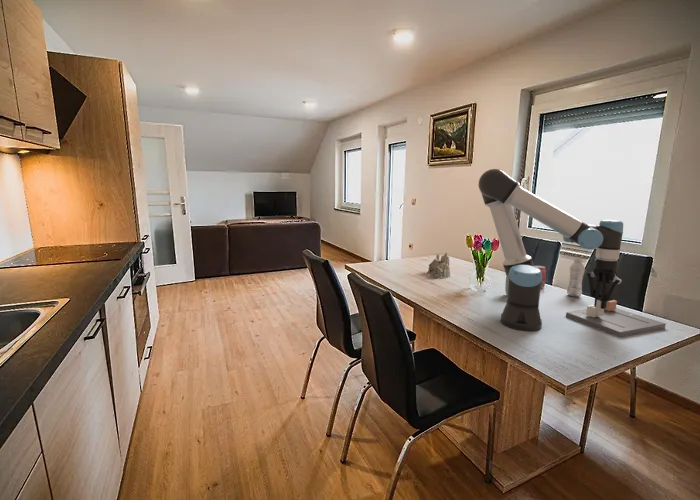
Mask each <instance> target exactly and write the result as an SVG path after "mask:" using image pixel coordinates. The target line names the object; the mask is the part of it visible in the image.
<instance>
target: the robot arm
mask: <svg viewBox="0 0 700 500" xmlns="http://www.w3.org/2000/svg"><path fill="white" fill-rule="evenodd" d="M478 189H479V192H480V193H481V197H482V199H483V202H484V203H483V204H484V206H486V207H488V208H489V209H490V210H489V211H490V213H491V216H492V220H493V223H494V226H495V230H496V234H497V236H498V240H499V243H500V246H501V250H502V253H503V256H504V261H502V266H503V269H504V272H505V275H506V276H507V280H508V293H507V294H506V296H507V297H506V304H505V306H504V308H503V311H502V312H501V314H500V319H499V320H500V323H501V324H503V326H506V327H508V328H510V329H515V330H519V331H525V332H526V331H527V332H533V331H534V332H535V331H539V330H542V327H543V320H542V318H541V313H540V310H539V308H540V305H539V304H540V297H541V290H542V289H541V281H542V272H541V270H540V269H538V268H535V267H534V266H535V265H534V262H533V258H532V256H531V255H528V254H527V251H526V249H525V245H524V243H523V239H522V235H521V232H520V228H519V225H518V222H517V219H516V216H515V213H514V209H517V210H518V211H520V212H522V213H524V214H525V215H528V216H529V217H530V218H533V219H534V220H536V221H538V222H540V223H541V224H543V225H544V226H547V227H548V228H549V229H552V230H553V231H554V232H557V233H558V234H560V235H561V236H562V239H563V241H564V242H566V243H571V244H574V243H575V244H577V245H579V246H580V247H581V248H582V249H585V250H595V256H594V257H595V259H594V265H593V266H594V267H593V268H594V269H593V270H592V271H591V272H587V273H586V276H587V278H588V284H589V293H590V294H589V295H590V297H592V298H594V304H593V305H594V306H595V307H596V310H595V315H596V316H603V312H604V309H606V305H607V301H612V300H614V298H615V296H616V295H617V291H618V288H619V287H620V285H621V284H622V283H623V282H624V280H623V279H621V278H619V276H618V273H617V270H618V269H619V268H618V266H619V258H620V254H621V253H620V252H621V247H622V246H621V245H622V239H623V234H624V222H623V221H621V220H617V219H616V220H615V219H602V220H600V222H599V224H587V223H585V222H583V221H581V220H580V219H578V218H577V217H574V216H573V215H572V214H569V213H568V212H566V211H564V210H562V209H560V208H559V207H557V206H555V205H553V204H551V203H550V202H548V201H546V200H545V199H542V197H539V196H538V195H536V194H534V193H532V192H531V191H528V190H527V189H525V188H523V187H522V186H521V183H520V182H519V181H517V180H516V179H513V178H512V177H511V176H509V175H508V174H507V173H506V172H505V171H503V170H501V169H499V168H498V169H497V168H492V169H489V170H486V171H484V172H483V173H482V175H480V177H479V180H478ZM513 208H514V209H513ZM506 276H505V277H506Z"/></svg>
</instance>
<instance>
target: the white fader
mask: <svg viewBox="0 0 700 500" xmlns="http://www.w3.org/2000/svg"><path fill="white" fill-rule="evenodd" d="M586 309H587V311H586V315H587V316H590V317H599V316H596V315H595V310H596V307H595V306H594V304H589V305H586Z"/></svg>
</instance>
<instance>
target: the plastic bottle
mask: <svg viewBox="0 0 700 500" xmlns="http://www.w3.org/2000/svg"><path fill="white" fill-rule="evenodd" d="M583 262H584V258H582V257H578V256H577V257H574V258H573V263H572V264H571V265H570V267H569V283H568V287H567V288H566V294H567V295H568V296H571V297H573V298H574V297H575V298H576V297H577V298H579V297H581V296H582V294H583V288H582V287H583V278H584V274H585V271H586V268H585V265H584V264H583Z"/></svg>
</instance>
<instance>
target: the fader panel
mask: <svg viewBox="0 0 700 500" xmlns="http://www.w3.org/2000/svg"><path fill="white" fill-rule="evenodd" d="M586 311H587V308H585V309H584V308H583V309H579V310H578V309H577V310H572V311H567V312H565V317H566V318H568V319H571V320H574V321H576V322H579V323H582V324H584V325H587V326H589V327H592V328H595V329H598V330H600V331H602V332H605V333H608V334H610V335H613V336H615V337H618V338H623V337H629V336H632V335H639V334H642V333H648V332H653V331H657V330H658V331H659V330H663V329H665V328H666V323H665V322H662V321H659V320H655V319H652V318H649V317H646V316H643V315H640V314H637V313H633V312H631V311H627V310H624V309H621V308H617V307H616V310H611V311H607V310H604V312H603V316H599V317H590V316H587V315H586Z"/></svg>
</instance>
